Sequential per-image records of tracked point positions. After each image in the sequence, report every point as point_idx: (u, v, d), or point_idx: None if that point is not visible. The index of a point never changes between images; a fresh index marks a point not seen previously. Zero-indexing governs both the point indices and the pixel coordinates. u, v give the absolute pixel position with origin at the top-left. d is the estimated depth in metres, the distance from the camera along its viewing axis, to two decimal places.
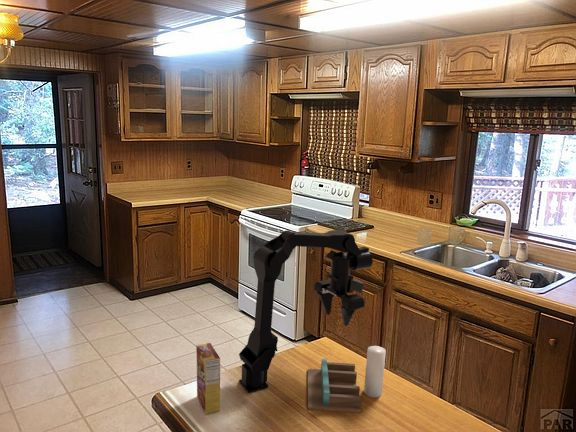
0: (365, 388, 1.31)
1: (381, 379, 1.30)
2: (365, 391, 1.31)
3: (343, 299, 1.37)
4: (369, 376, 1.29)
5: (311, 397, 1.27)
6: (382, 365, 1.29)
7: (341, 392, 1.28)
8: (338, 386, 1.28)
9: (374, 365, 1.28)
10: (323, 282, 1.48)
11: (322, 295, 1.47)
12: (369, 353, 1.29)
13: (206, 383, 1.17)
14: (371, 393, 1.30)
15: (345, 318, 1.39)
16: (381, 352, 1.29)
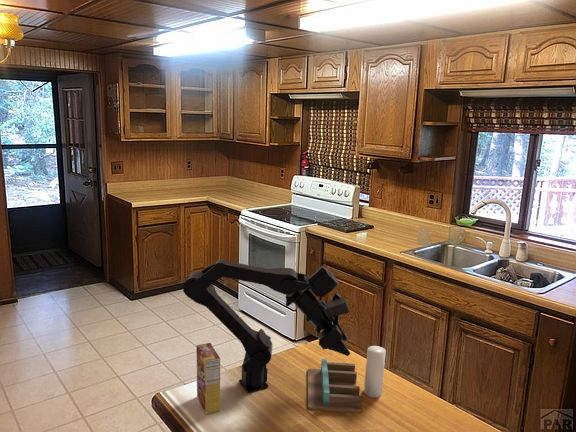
0: (365, 388, 1.31)
1: (381, 379, 1.30)
2: (365, 391, 1.31)
3: (318, 339, 1.24)
4: (369, 376, 1.29)
5: (311, 397, 1.27)
6: (382, 365, 1.29)
7: (341, 392, 1.28)
8: (338, 386, 1.28)
9: (374, 365, 1.28)
10: None
11: None
12: (369, 353, 1.29)
13: (206, 383, 1.17)
14: (371, 393, 1.30)
15: (338, 351, 1.25)
16: (381, 352, 1.29)
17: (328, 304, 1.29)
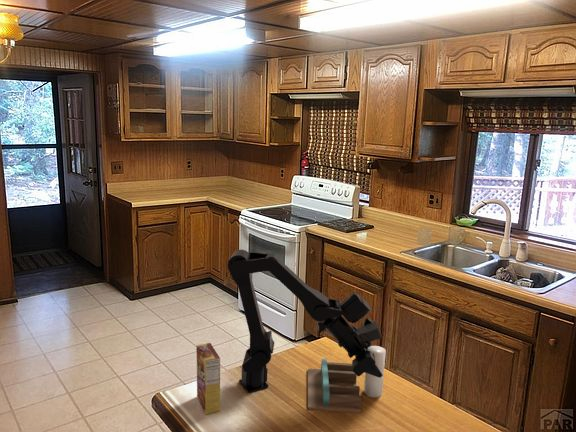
0: (365, 388, 1.31)
1: (381, 379, 1.30)
2: (365, 391, 1.31)
3: (352, 365, 1.24)
4: (369, 375, 1.29)
5: (311, 397, 1.27)
6: (382, 365, 1.29)
7: (341, 392, 1.28)
8: (338, 386, 1.28)
9: None
10: None
11: None
12: None
13: (206, 383, 1.17)
14: (371, 393, 1.30)
15: (371, 373, 1.27)
16: (381, 352, 1.29)
17: (360, 329, 1.29)
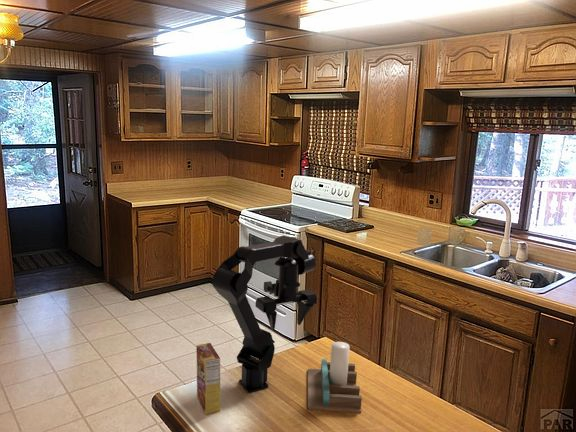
0: None
1: (345, 375, 1.30)
2: None
3: (309, 298, 1.41)
4: (333, 371, 1.30)
5: (311, 397, 1.27)
6: (346, 361, 1.29)
7: (341, 392, 1.28)
8: (338, 386, 1.28)
9: (338, 361, 1.28)
10: (268, 300, 1.36)
11: None
12: (333, 349, 1.29)
13: (206, 383, 1.17)
14: None
15: None
16: (345, 348, 1.29)
17: None
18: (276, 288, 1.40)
